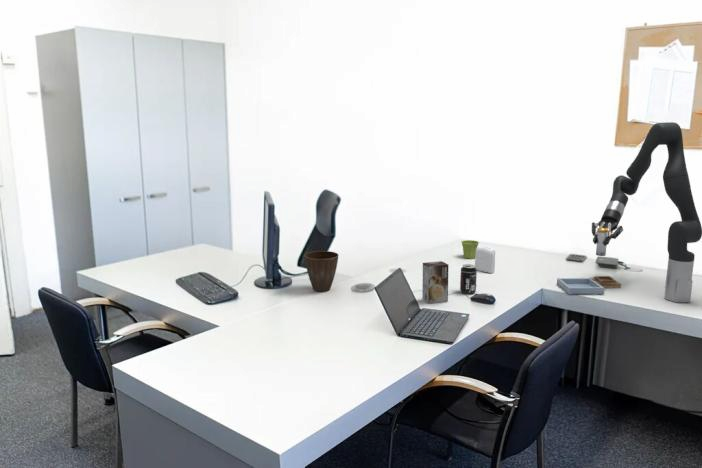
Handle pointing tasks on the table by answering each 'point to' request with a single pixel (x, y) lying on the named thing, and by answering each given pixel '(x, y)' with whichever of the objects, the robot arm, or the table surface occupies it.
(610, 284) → the brown stepped base
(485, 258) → the photo printer
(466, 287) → the beverage can
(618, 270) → the table surface
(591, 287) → the tray
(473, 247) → the plant pot
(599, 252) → the lock pin
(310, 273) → the plant pot
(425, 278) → the coffee box
